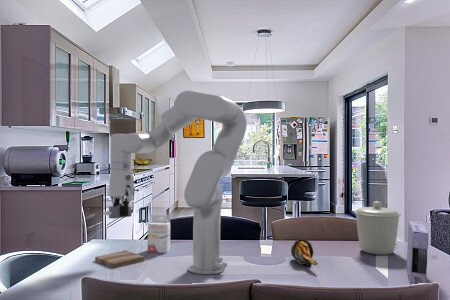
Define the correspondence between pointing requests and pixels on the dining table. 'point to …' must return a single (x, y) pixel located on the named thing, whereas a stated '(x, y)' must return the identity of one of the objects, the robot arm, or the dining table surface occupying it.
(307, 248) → the fried shrimp in bowl
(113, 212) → the grey double dome block
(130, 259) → the walnut board
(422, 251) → the cake pan box
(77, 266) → the dining table surface
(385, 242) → the canister
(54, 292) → the dining table surface
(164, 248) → the ink cartridge box
